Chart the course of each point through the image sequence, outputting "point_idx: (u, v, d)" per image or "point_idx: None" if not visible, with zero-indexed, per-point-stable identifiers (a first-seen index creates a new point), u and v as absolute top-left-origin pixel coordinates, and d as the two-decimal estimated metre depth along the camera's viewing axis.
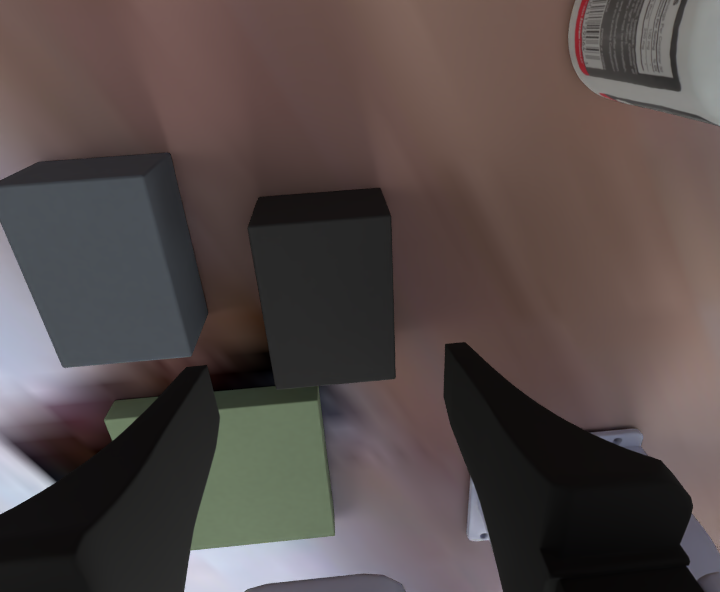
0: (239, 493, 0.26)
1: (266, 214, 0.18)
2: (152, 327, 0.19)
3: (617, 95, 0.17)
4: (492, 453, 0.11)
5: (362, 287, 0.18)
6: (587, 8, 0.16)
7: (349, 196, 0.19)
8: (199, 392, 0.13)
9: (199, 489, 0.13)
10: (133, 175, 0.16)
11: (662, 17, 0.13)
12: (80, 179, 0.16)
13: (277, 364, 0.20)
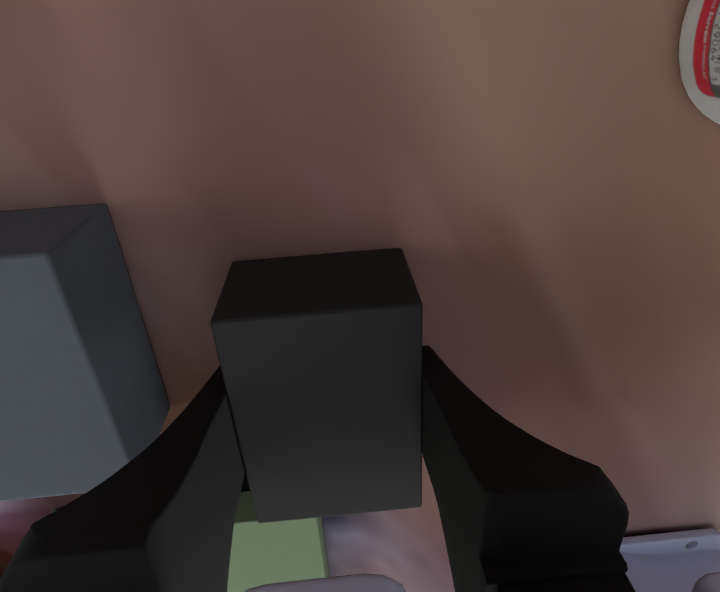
0: None
1: (240, 296, 0.12)
2: (79, 454, 0.13)
3: None
4: (445, 458, 0.11)
5: (378, 399, 0.13)
6: None
7: (359, 263, 0.14)
8: None
9: (237, 485, 0.13)
10: (32, 253, 0.10)
11: None
12: None
13: (259, 494, 0.14)
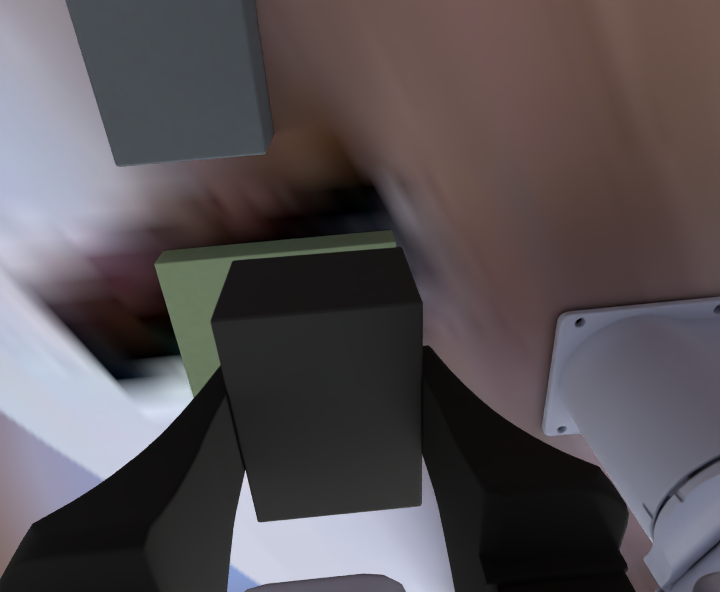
0: None
1: (240, 295, 0.12)
2: (222, 109, 0.16)
3: None
4: (444, 458, 0.11)
5: (378, 397, 0.13)
6: None
7: (359, 262, 0.14)
8: None
9: (237, 485, 0.13)
10: None
11: None
12: None
13: (259, 493, 0.14)
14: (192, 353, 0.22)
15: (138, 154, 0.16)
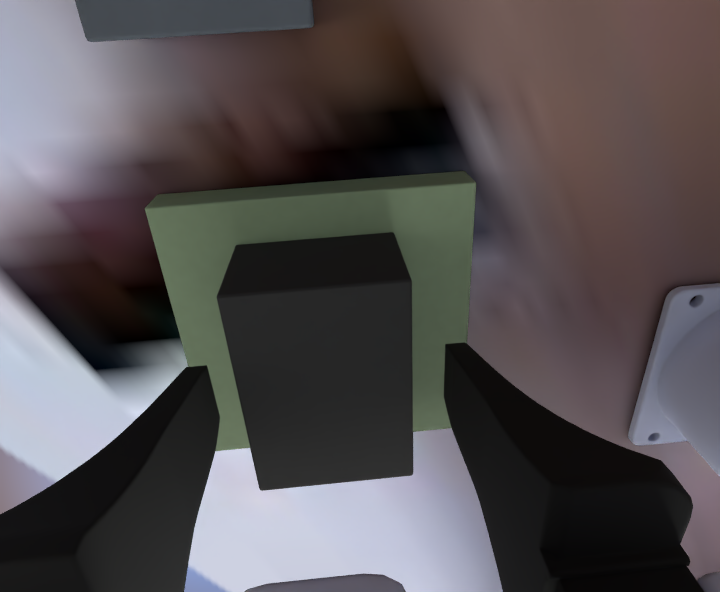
0: None
1: (243, 274, 0.13)
2: None
3: None
4: (492, 453, 0.11)
5: (371, 369, 0.14)
6: None
7: (354, 245, 0.15)
8: (199, 392, 0.13)
9: (199, 489, 0.13)
10: None
11: None
12: None
13: (261, 462, 0.15)
14: (195, 335, 0.17)
15: (120, 21, 0.11)
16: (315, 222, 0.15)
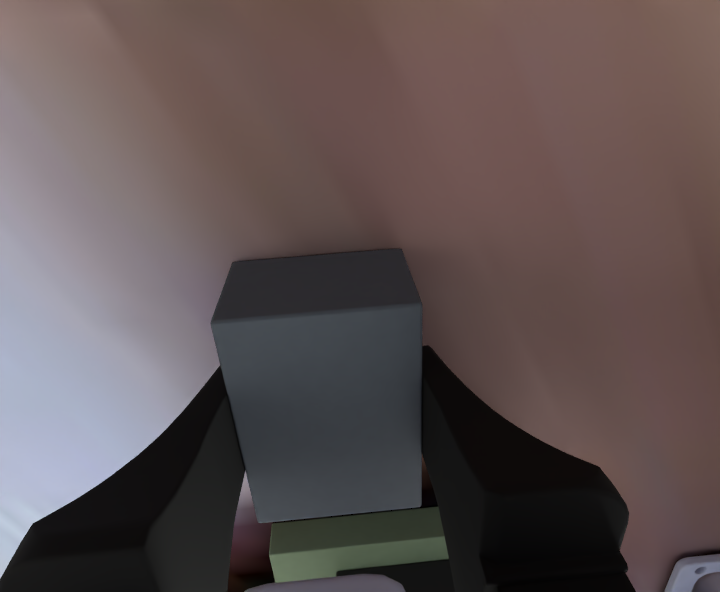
0: None
1: None
2: (382, 477, 0.14)
3: None
4: (445, 458, 0.11)
5: None
6: None
7: (432, 583, 0.19)
8: None
9: (237, 485, 0.13)
10: (408, 303, 0.12)
11: None
12: (337, 309, 0.12)
13: None
14: None
15: (284, 514, 0.15)
16: (400, 555, 0.19)
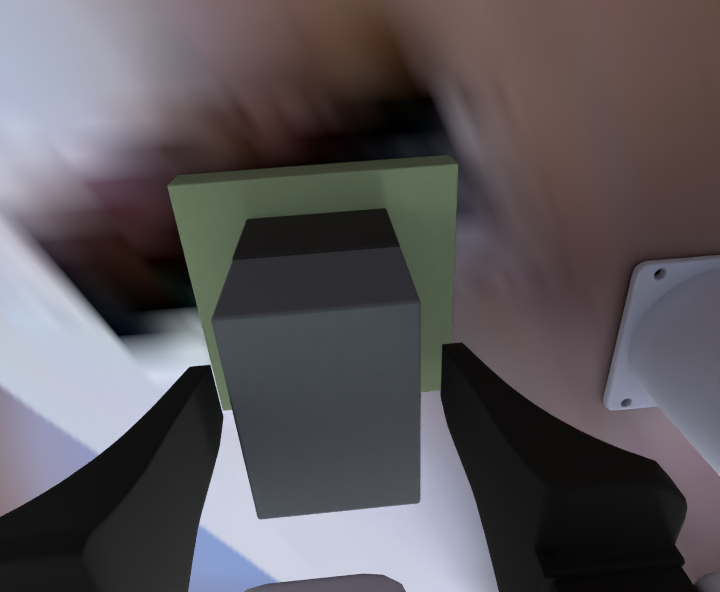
0: None
1: (255, 241, 0.15)
2: (381, 473, 0.14)
3: None
4: (488, 454, 0.11)
5: None
6: None
7: (350, 218, 0.17)
8: (203, 392, 0.13)
9: (203, 489, 0.13)
10: (407, 300, 0.12)
11: None
12: (336, 306, 0.12)
13: None
14: (209, 301, 0.19)
15: (284, 510, 0.15)
16: (316, 199, 0.17)
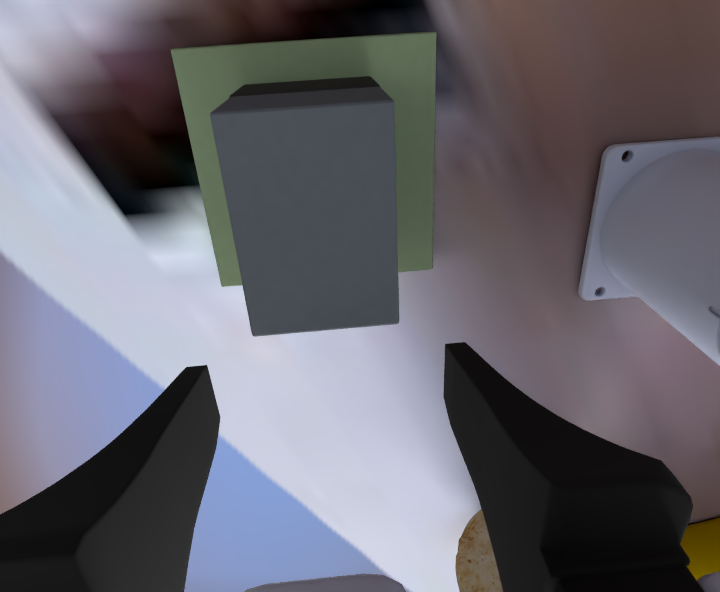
0: None
1: (249, 90, 0.17)
2: (363, 288, 0.16)
3: None
4: (492, 453, 0.11)
5: None
6: None
7: (337, 80, 0.18)
8: (199, 392, 0.13)
9: (199, 489, 0.13)
10: (382, 100, 0.13)
11: None
12: (320, 104, 0.13)
13: None
14: (209, 170, 0.21)
15: (276, 326, 0.16)
16: (307, 66, 0.19)
